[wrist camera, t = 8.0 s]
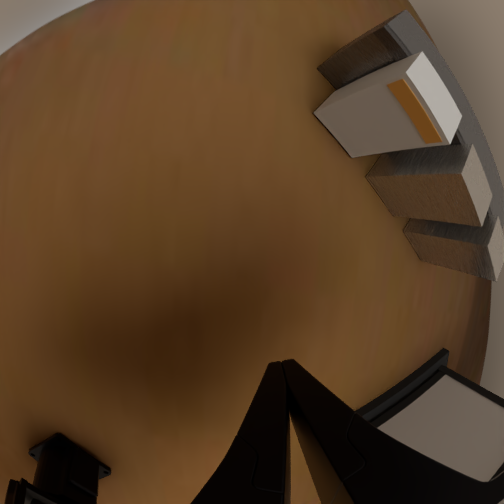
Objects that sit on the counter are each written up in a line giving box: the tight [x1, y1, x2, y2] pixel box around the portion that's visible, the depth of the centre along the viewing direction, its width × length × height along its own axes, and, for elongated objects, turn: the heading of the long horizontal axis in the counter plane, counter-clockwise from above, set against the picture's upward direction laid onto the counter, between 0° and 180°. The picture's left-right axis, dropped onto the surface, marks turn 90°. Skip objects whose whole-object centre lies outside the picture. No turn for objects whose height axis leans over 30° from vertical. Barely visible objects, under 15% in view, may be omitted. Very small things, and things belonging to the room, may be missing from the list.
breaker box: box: [317, 10, 504, 282], centre depth 17 cm, size 8×20×9 cm, turn 48°
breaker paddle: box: [314, 52, 462, 158], centre depth 15 cm, size 3×4×9 cm
